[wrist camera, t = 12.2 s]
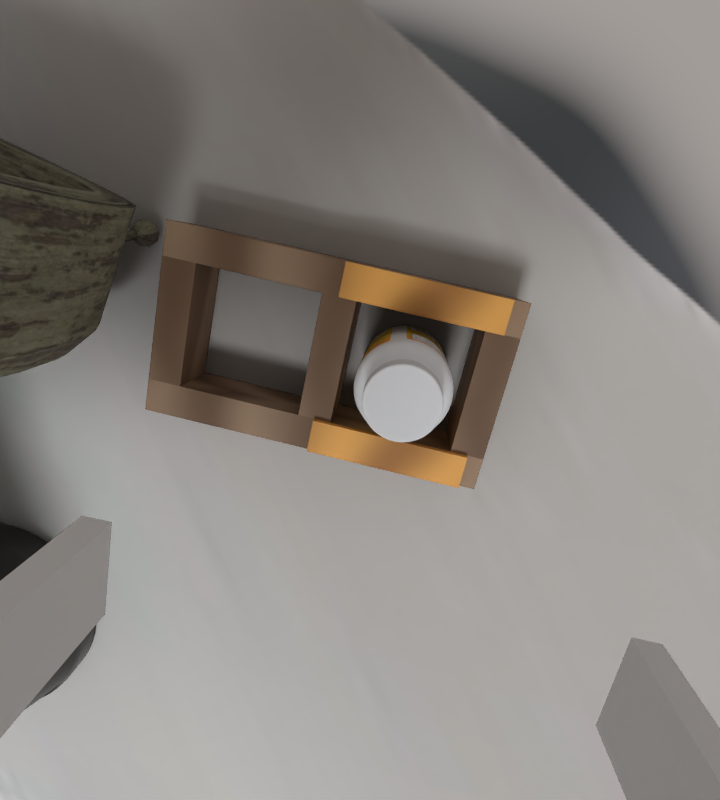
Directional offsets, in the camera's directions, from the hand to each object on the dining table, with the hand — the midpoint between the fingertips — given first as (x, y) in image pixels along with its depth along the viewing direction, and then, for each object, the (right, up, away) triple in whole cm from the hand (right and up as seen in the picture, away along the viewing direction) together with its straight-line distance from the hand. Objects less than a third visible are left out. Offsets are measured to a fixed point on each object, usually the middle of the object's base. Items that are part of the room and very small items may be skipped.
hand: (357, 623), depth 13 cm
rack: (-2, +9, +22) cm, 23 cm away
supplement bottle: (+3, +8, +22) cm, 23 cm away
